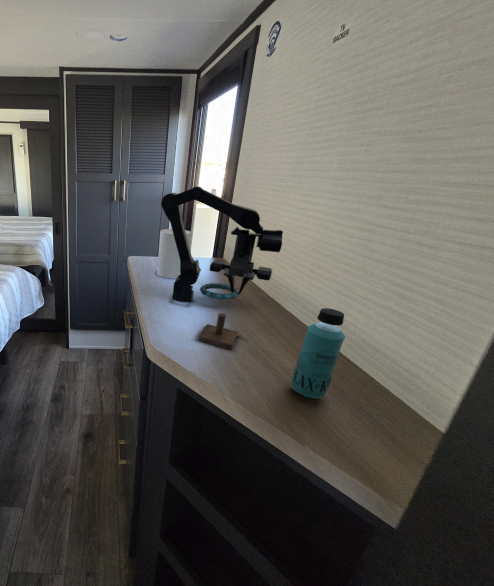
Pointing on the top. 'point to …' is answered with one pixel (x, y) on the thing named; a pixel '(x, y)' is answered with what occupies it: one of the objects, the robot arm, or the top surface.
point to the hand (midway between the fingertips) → (235, 293)
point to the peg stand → (218, 334)
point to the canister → (169, 254)
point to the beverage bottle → (319, 354)
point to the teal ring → (218, 295)
